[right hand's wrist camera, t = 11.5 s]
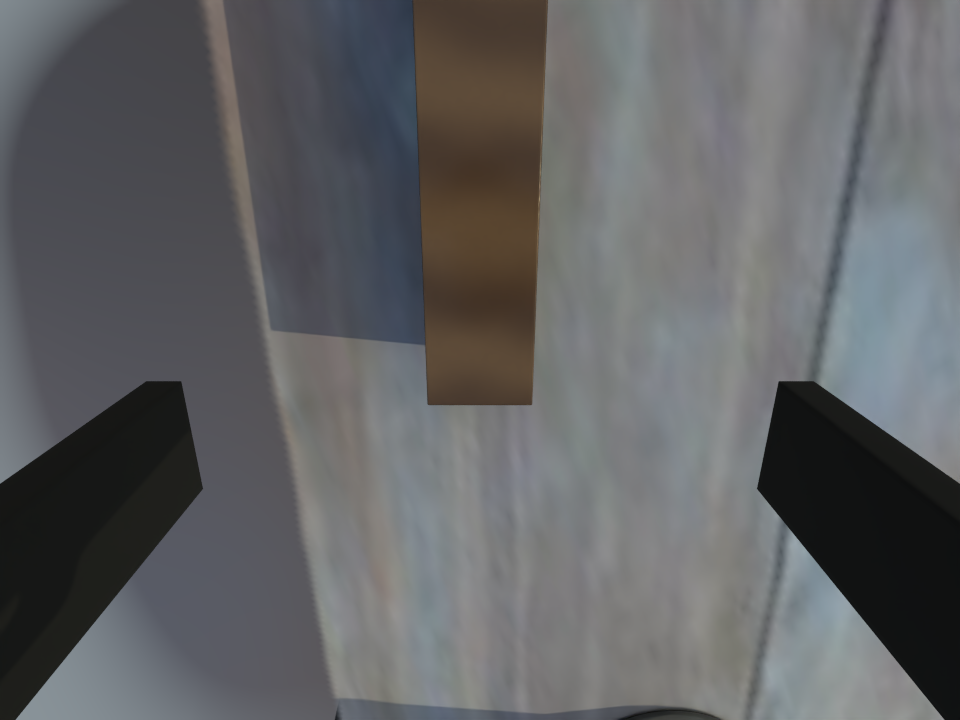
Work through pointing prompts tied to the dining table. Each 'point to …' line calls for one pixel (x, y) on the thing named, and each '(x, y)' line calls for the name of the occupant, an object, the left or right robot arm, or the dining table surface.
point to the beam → (480, 193)
